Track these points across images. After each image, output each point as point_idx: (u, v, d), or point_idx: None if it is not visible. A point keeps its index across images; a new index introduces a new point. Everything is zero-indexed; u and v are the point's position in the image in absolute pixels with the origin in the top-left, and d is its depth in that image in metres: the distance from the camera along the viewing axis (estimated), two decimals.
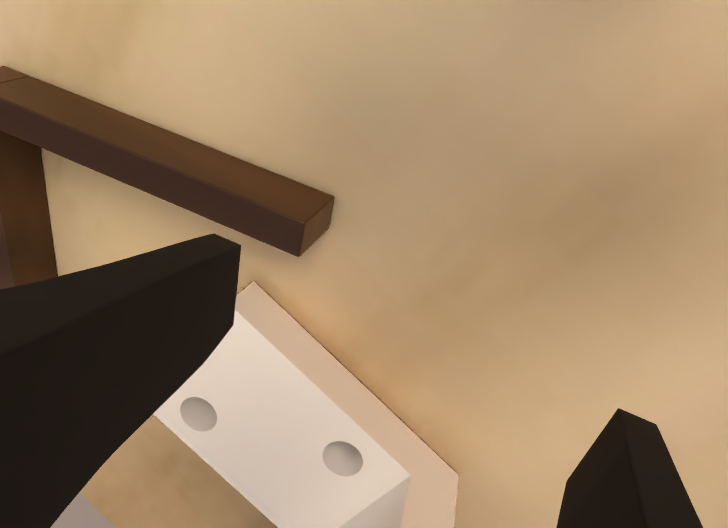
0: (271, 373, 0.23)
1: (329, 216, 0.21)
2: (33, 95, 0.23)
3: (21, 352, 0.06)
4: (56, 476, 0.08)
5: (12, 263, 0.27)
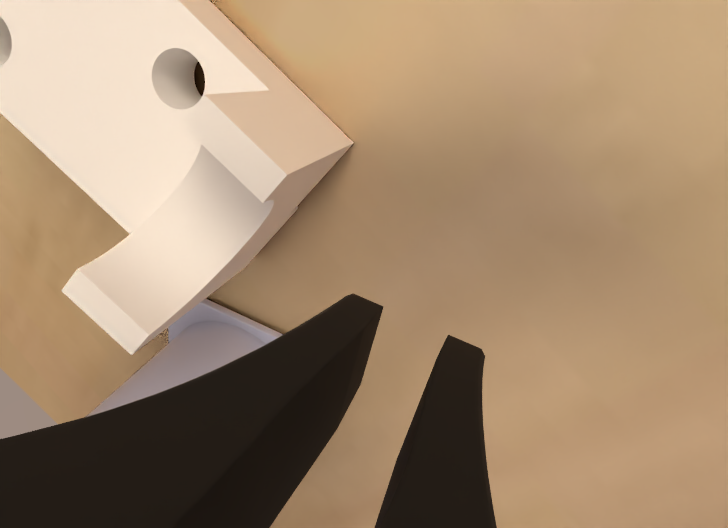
0: None
1: None
2: None
3: (235, 465, 0.06)
4: None
5: None
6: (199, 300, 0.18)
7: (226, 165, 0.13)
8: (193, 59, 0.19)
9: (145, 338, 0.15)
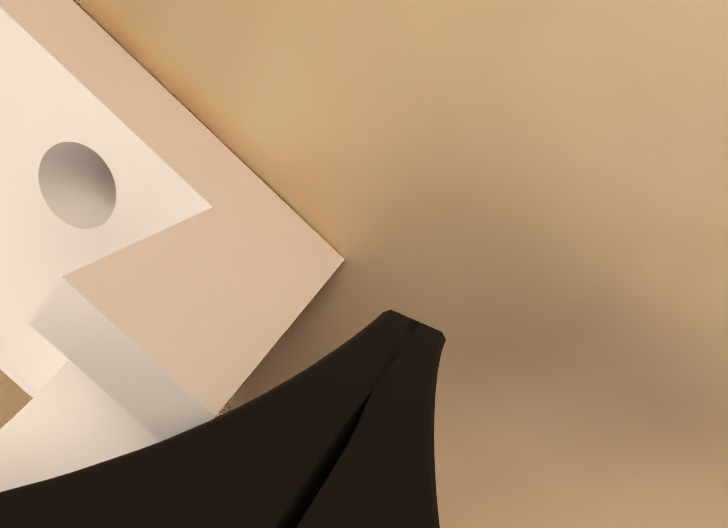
0: None
1: None
2: None
3: (296, 497, 0.06)
4: None
5: None
6: None
7: (110, 391, 0.07)
8: None
9: None
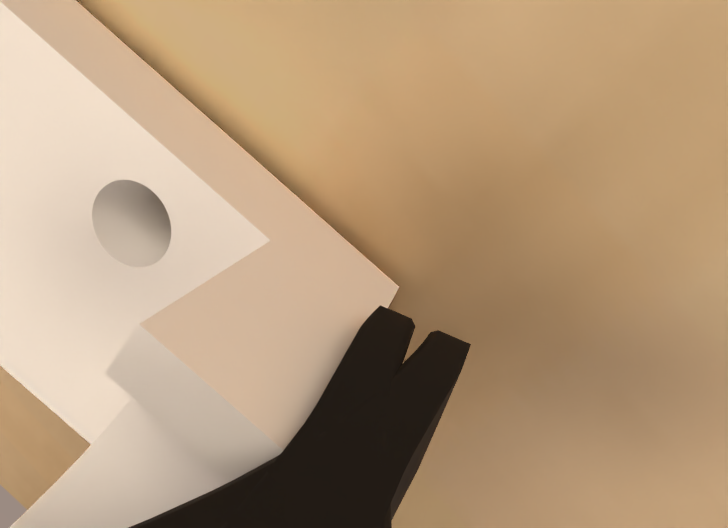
0: None
1: None
2: None
3: None
4: None
5: None
6: None
7: (189, 442, 0.07)
8: None
9: None
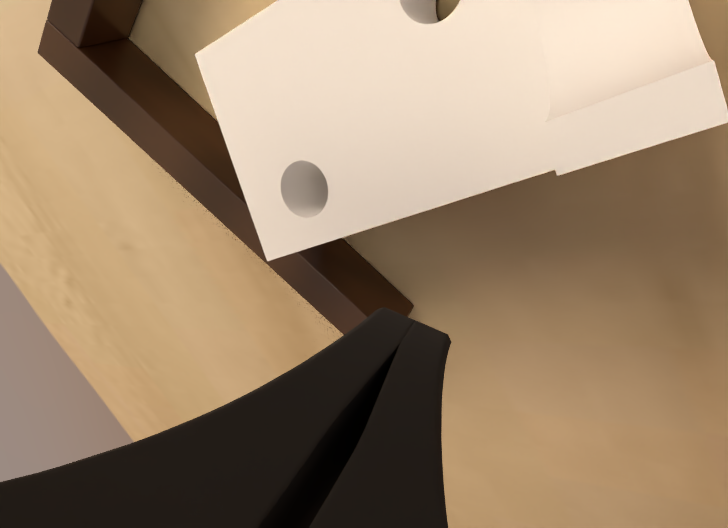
0: (280, 40, 0.16)
1: None
2: None
3: (286, 492, 0.06)
4: None
5: (233, 191, 0.20)
6: None
7: None
8: (432, 14, 0.16)
9: (716, 73, 0.08)
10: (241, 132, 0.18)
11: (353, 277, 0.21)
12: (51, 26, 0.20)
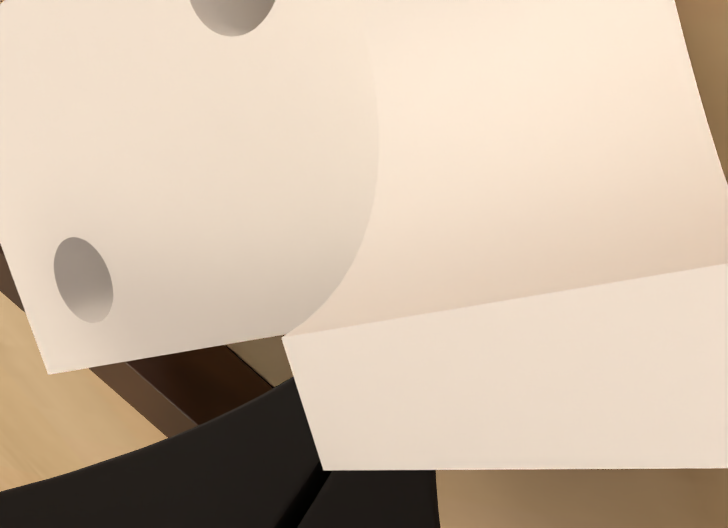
0: (32, 49, 0.10)
1: None
2: None
3: (296, 498, 0.06)
4: None
5: None
6: None
7: None
8: None
9: None
10: (0, 185, 0.12)
11: None
12: None
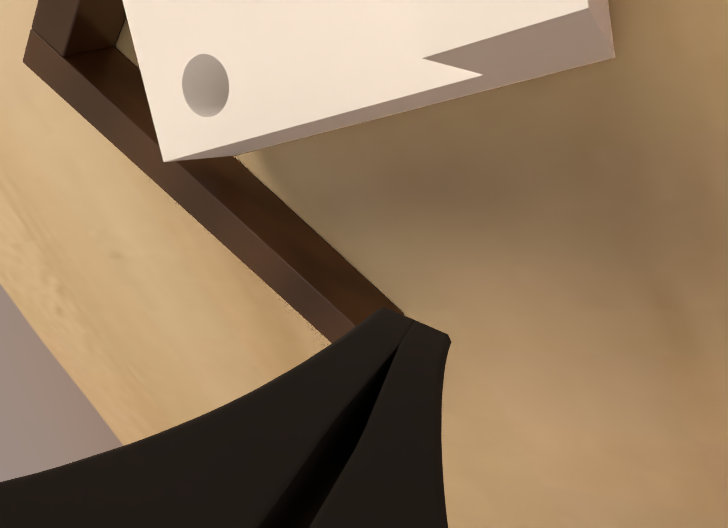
0: None
1: None
2: None
3: (285, 492, 0.06)
4: None
5: (220, 200, 0.20)
6: (601, 17, 0.11)
7: None
8: None
9: None
10: (146, 17, 0.17)
11: (342, 286, 0.21)
12: (35, 35, 0.20)
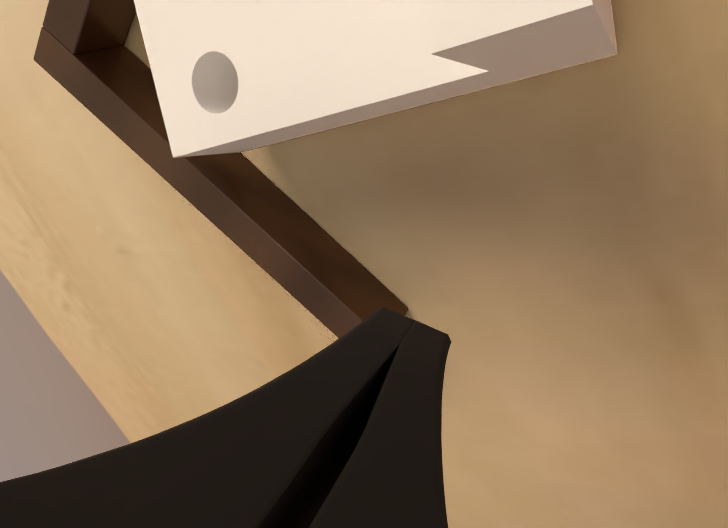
0: None
1: None
2: None
3: (285, 492, 0.06)
4: None
5: (228, 196, 0.20)
6: (604, 14, 0.11)
7: None
8: None
9: None
10: (156, 15, 0.17)
11: (347, 281, 0.21)
12: (46, 33, 0.20)
